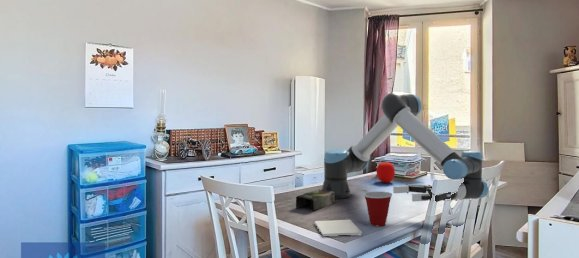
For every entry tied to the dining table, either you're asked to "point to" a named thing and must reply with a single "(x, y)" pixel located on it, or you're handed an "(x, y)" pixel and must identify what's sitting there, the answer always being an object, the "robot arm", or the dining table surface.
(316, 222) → the cream tile
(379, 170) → the tomato
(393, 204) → the dining table surface
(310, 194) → the olive boxy piece
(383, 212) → the plastic cup
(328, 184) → the robot arm
